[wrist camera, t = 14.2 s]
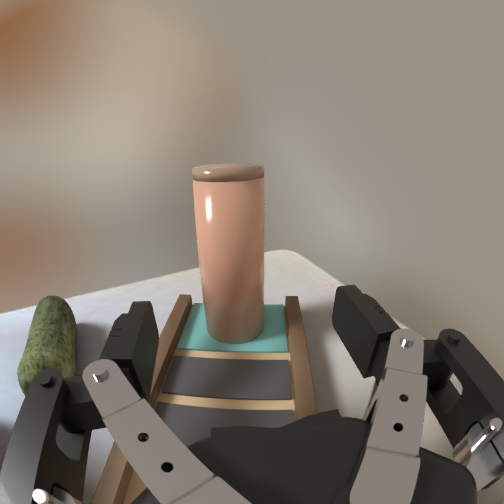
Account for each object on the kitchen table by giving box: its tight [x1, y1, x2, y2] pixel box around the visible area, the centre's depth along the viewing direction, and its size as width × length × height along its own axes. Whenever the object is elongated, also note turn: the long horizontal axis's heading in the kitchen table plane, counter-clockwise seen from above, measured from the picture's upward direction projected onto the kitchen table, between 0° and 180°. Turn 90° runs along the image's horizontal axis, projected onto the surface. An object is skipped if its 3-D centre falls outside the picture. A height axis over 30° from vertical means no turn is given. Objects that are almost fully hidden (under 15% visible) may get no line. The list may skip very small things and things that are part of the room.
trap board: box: [92, 295, 317, 504], centre depth 18 cm, size 12×24×2 cm, turn 178°
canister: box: [192, 163, 264, 344], centre depth 23 cm, size 5×5×14 cm
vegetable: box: [17, 296, 77, 396], centre depth 19 cm, size 14×5×5 cm, turn 28°
